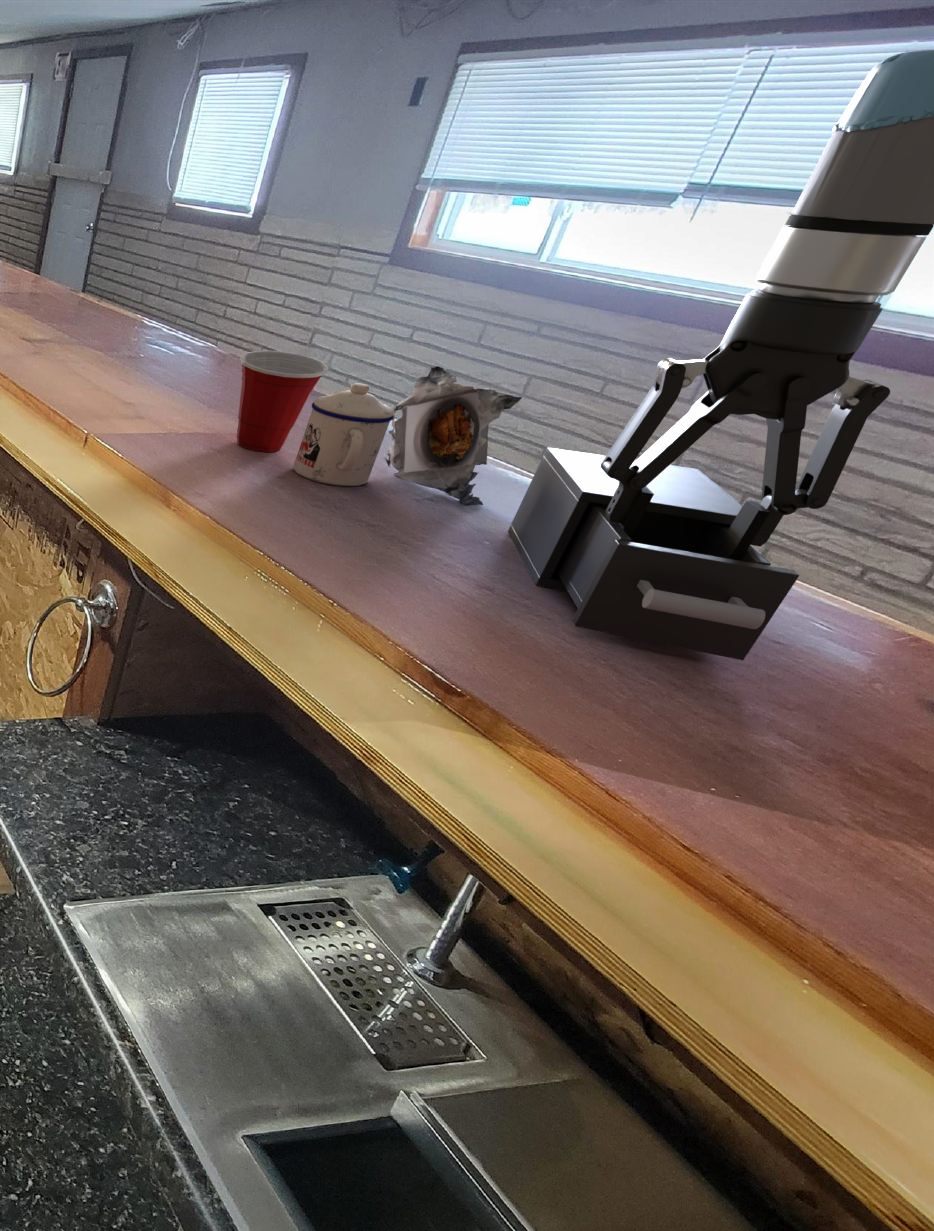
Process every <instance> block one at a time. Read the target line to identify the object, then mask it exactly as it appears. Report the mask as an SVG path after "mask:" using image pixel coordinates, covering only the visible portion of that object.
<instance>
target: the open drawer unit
mask: <svg viewBox="0 0 934 1231" xmlns="http://www.w3.org/2000/svg"><path fill="white" fill-rule="evenodd" d="M607 507H608V505H604V504H597V503H591V502H589V505H588V507H587V509H586V511H585V513H584V515H583V517H582V519H581V521H580V523H579V524H578V526H577V528H576V530H575V532H574V534H573V536H572V538H571V540H570V542H569V544H568V546H567V548H566V550H565V552H564V554H563V556H562V558H561V560H560V562H559V564H558V566H557V568H556V570H555V571H556V572H557V574H558V576H559V577H560V579H561V581H562V582H563V584H564V586H565V587H566V589H567V591H566V592H567V593H568V595H570V597H571V599H572V601H573V602H574V604H575V606H576V608H577V609H576V612H575V613H574V614H573V617H572V619H571V622H572V624H573V626H574V627H576V628H577V627H578V628H582V629H586V630H587V629H588V630H592V631H595V632H596V631H597V632H601V633H606V634H612V635H617V636H621V637H627V638H632V639H635V640H636V639H637V640H641V641H645V642H651V643H655V644H660V645H666V646H670V647H675V648H681V649H686V650H688V651H689V650H691V651H696V652H700V653H705V654H710V655H715V656H720V657H724V658H729V659H734V660H739V661H744V660H745V659H746V657H747V656H748V654H749V652H750V651H751V649H753V647H754V645H755V643H756V642H757V640H758V639H759V637H760V636H761V634H762V633H763V631H764V630H765V628H766V627H767V625H768V624H769V622H770V621H771V619H773V616H774V615H775V613H776V612H777V610H778V609H779V608H780V606H781V604H782V603H783V601H784V600H785V598H786V597H787V595H788V594H789V592H790V591H791V589H792V588H793V586H794V585H795V583H796V582H797V580H798V578H799V577H800V574H799V573H798V572H797V571H795V570H794V569H791V568H785V567H778V566H773V565H772V563H771V562H770V561H768V560H767V558H765V557H764V556H763V555H762V554H761V553H760V552H758V551H757V550H756V549H755V548H754V547H753V545H750V546H749V548H748V549H747V551H746V552H745V554H744V555H743V557H742V559H741V560H740V561H739V560H733V559H727V558H721V557H715V556H713V555H714V553H715V551H716V550H717V548H718V546H719V545H720V543H721V541H722V540H723V538H724V536H725V535H726V533H727V531H728V530H729V528H730V527H729V526H728V525H727V524H722V523H715V522H709V521H703V520H697V519H691V518H684V517H678V516H672V515H666V514H660V513H653V512H647V511H645V512H644V514H643V515H642V517H641V519H640V521H639V523H638V525H637V526H636V528H635V530H634V532H633V534H632V536H631V538H629V536H628V535H627V534H626V533H625V532H624V530H623V529H622V528H621V527H620V526H619V524H618V523H615V522H610V521H609V520H608V519H607V518H606V509H607ZM634 542H635V543H634ZM640 543H641V544H640ZM646 544H647V545H646ZM652 545H653V546H652ZM657 546H659V547H657ZM663 547H665V548H663ZM669 548H671V549H669ZM675 549H676V550H675ZM681 550H682V551H681ZM686 551H688V552H686Z"/></svg>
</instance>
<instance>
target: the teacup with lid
mask: <svg viewBox="0 0 934 1231" xmlns="http://www.w3.org/2000/svg"><path fill="white" fill-rule="evenodd" d="M369 391H370V385H368V384H365V383H360V382H355V383H353V384H351V386H350V389H349V390H341V391H339V392H336V393H333V394H330V395H329V394H327V395H322V396H319V397H316V398H315V400H313V402H312V403H311V408H312V409H311V413H310V415H309V418H308V422H307V425H306V428H305V430H304V434H303V437H302V439H301V443H300V446H299V449H298V452H297V456H296V458H295V461H294V463H293V464H294V465H293V470H294V471H295V473H297V474H298V475H299V476H301V477H303V478H306V479H307V480H311V481H314V482H317V483H321V484H325V485H332V486H339V487H358V486H362V485H364V484H366V483H367V482H368V481H369V478H370V476H371V473H372V470H373V468H374V465H375V462H376V459H377V457H378V454H379V452H380V449H381V446H382V444H383V442H384V439H385V436H386V433H387V430H388V428H389V425H390V423H391V422H392V420H393V418H394V412H393V410H394V409H393V408H392V407H390V406H389V405H388V404H385V403H382V402H381V401H380V400H379V398H377V397H376V396H375V395H373V394H371V393H369ZM394 419H395V418H394Z"/></svg>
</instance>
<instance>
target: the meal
mask: <svg viewBox="0 0 934 1231" xmlns="http://www.w3.org/2000/svg"><path fill="white" fill-rule="evenodd" d="M457 382H458V380H457V376H456V375H453V374H451V373H450V372H449V371H446V369H445V368H444V367H442V366H439V365H438V366H431V367H430V370H429V373H428V375H427V376H420V377H419V378H418V379H417V381H416V383H415V384H414V389H413V391H412V393H411V394H410V395H409V396H408V397H407V398H404V399H402V400H401V401H400V402H399V403H398V404H396V405H395V406H394V408H393V409H392V410H393V412H394V418H393V420H391V427H392V429H390V430H388V434H389V435H390V439H391V440H392V443H391V444H390V446H389V449H388V451H387V453H386V447H384V449H383V458H384V460H385V462H386V464H387V466H388V468H394V469H396V470H397V472H394V473H393V475H394V476H396V477H398V478H400V479H402V480H405V481H407V482H410V483H412V484H415V485H419V486H421V487H426V488H427V487H428V488H432V489H436V490H438V491H441V492H443V493H444V494H446V495H447V496H450V497H452V498H455V499H457V500H458V503H459V505H462V506H477V505H480V506H484V503H483V502H482V501H481V499H480V497H478V496H474V494H473V492H472V491H473V489H474V488H475V486H476V485H477V483H472V484H471V482H472V481H473V480H474V479H475V478H476V477H477V476H478V474H479V473H480V471H478V472H477V471H475V467H476V466H481V465H488V446H489V445H488V444H489V436H488V435H489V431H490V430H489V428H490V424H491V423H492V422H493V421H495V420H497V419H500V417H501V414H502V413H503V412H504V411H505V410H511V409H512V408H513V407H514V406H515V405H516V404H517V403H519V402H520V401H521V400H522V398H523V396H516V395H511V394H507V393H503V392H499V391H497V390H496V389H492V388H475V387H474V386H467V385H461V384H459V383H457ZM396 411H401V417H400V418H398V419H396V420H395V418H396V417H395V416H396V415H395V413H397V412H396ZM386 455H387V456H388V458H386V457H385V456H386Z"/></svg>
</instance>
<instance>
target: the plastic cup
mask: <svg viewBox="0 0 934 1231" xmlns="http://www.w3.org/2000/svg"><path fill="white" fill-rule="evenodd" d="M239 361H240V362H241V373H242V374H241V388H240V397H239V406H238V416H237V419H238V421H237V422H238V423H237V428H236V429H237V430H236V444H237V445H238V446H240V447H241V448H244V449H247V448H248V450H251V451H255V450H258V451H257V452H261V451H262V452H263V453H276V452H280V450H281V449H282V447H283V446H284V444H285V442H286V441H287V438H288V437H289V434H290V432H291V431H292V429H293V428H294V426H295V424H296V422H297V420H298V418H299V417H300V415H301V412H302V410H303V409H304V407H305V404H306V403H307V401H308V399H309V397H310V395H311V394H312V392H313V390H314V389H315V387H316V385H317V384H318V382H319V380H320V379H321V378H322V377H323V376H325V375H326V373H327V371H328V370H329V366H328V365H327V364H326V362H323V361H321V360H320V359H317V358H314V357H311V356H309V355H303V354H301V353H300V354H299V353H294V352H289V351H282V350H281V351H280V350H252V351H248V352H245V353H243V354H241V356H240V358H239Z"/></svg>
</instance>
